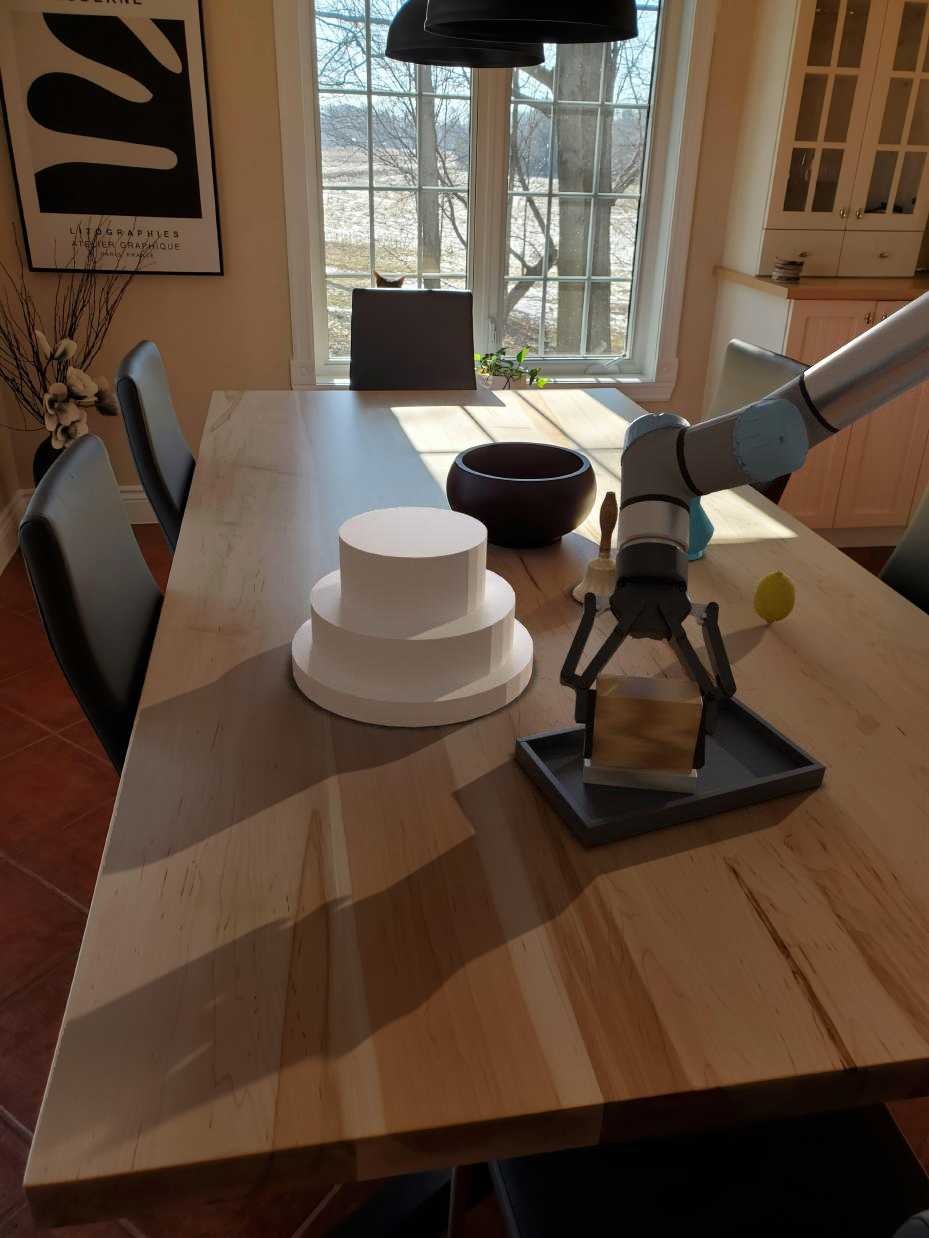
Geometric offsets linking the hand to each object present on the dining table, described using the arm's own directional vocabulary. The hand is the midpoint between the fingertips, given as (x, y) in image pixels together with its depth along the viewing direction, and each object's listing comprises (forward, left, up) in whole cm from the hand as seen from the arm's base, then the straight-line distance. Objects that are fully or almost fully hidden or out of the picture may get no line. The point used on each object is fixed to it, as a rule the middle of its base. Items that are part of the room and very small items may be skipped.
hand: (642, 761), depth 88 cm
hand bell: (+44, -21, -4) cm, 49 cm away
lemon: (+28, -39, -4) cm, 48 cm away
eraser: (+3, -2, -3) cm, 5 cm away
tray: (+3, -5, -4) cm, 7 cm away
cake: (+34, +12, -4) cm, 36 cm away
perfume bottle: (+55, -43, -4) cm, 70 cm away
